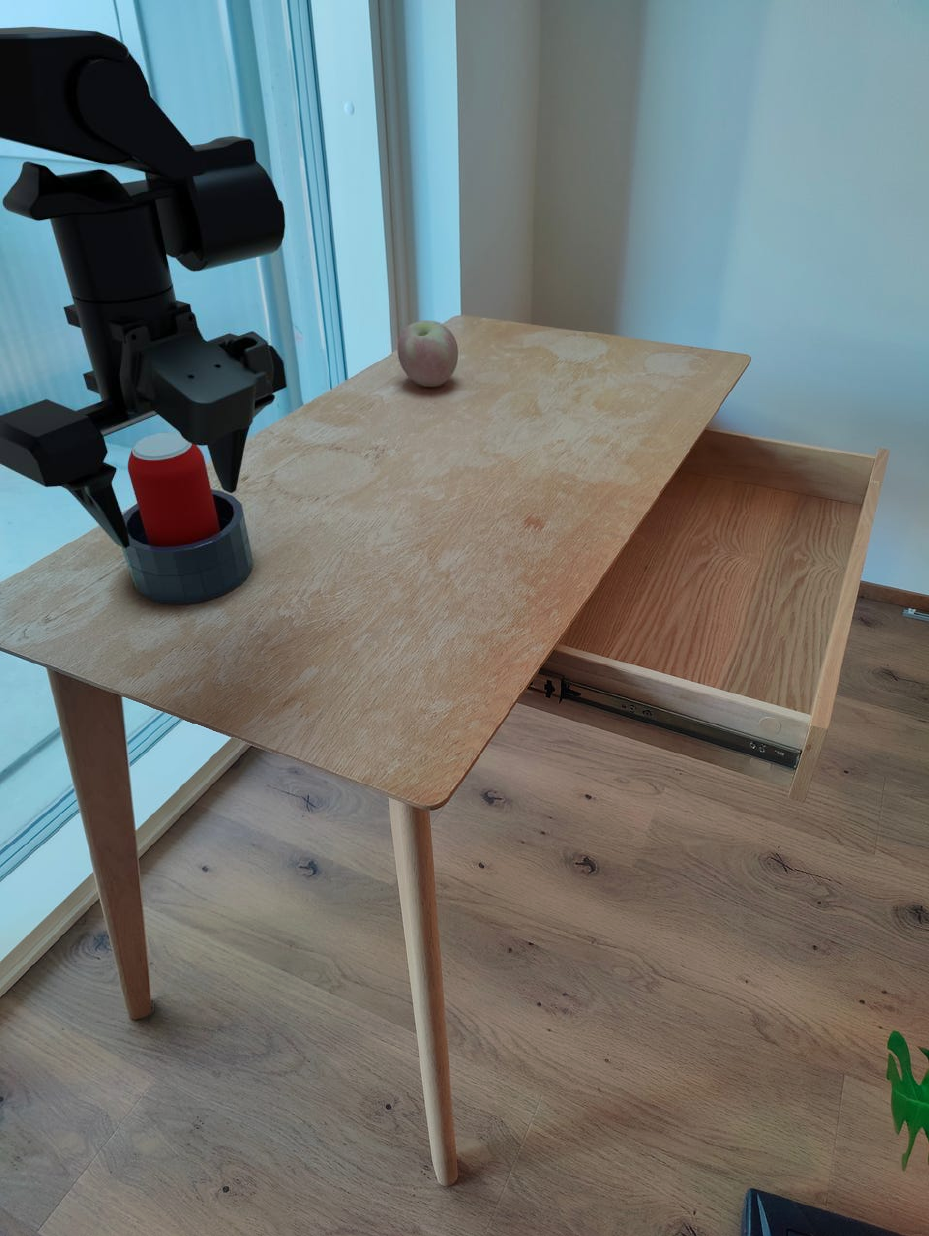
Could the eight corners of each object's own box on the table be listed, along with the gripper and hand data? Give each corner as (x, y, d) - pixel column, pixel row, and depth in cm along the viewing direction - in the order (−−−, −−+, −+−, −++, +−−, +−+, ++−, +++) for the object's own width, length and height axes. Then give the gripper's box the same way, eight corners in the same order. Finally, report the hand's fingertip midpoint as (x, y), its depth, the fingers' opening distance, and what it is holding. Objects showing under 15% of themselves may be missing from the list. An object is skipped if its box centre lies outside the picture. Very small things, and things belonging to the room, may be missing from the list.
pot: (184, 619, 70) (170, 566, 67) (108, 577, 75) (91, 525, 72) (277, 562, 77) (267, 510, 74) (201, 526, 82) (190, 476, 79)
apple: (388, 382, 110) (384, 321, 105) (435, 368, 114) (433, 309, 109) (421, 401, 105) (419, 338, 100) (470, 387, 109) (470, 325, 104)
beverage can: (147, 584, 73) (110, 461, 66) (169, 545, 78) (138, 426, 71) (215, 585, 73) (186, 462, 66) (234, 546, 78) (209, 427, 71)
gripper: (58, 366, 39) (138, 625, 49) (332, 274, 51) (353, 497, 61) (-62, 320, 45) (32, 562, 54) (212, 246, 57) (249, 456, 66)
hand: (179, 517), depth 59 cm, fingers open, 9 cm apart
